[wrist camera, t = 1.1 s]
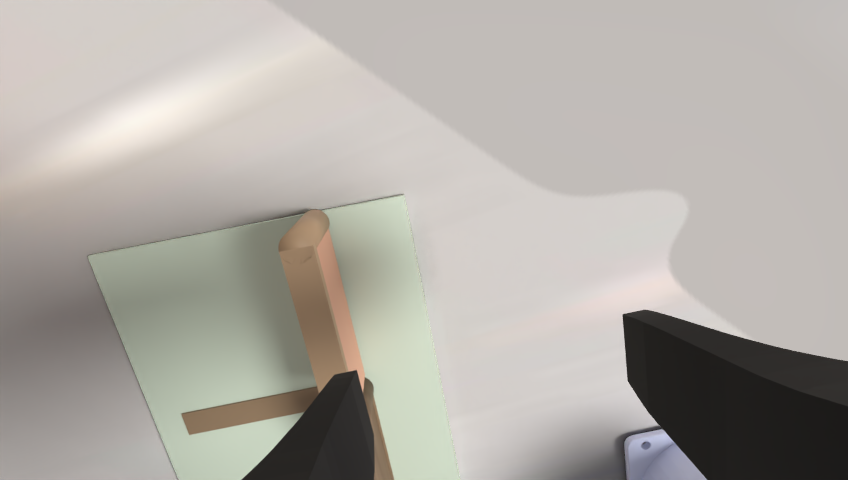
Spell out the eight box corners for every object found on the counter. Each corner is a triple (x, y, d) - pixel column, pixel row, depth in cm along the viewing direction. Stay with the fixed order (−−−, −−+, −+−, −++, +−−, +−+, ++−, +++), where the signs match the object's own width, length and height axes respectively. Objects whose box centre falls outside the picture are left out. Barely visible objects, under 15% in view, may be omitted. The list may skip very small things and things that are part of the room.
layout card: (404, 194, 20) (404, 195, 19) (466, 511, 25) (467, 517, 24) (91, 254, 20) (85, 257, 19) (216, 562, 24) (213, 569, 24)
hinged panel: (325, 206, 19) (308, 228, 15) (367, 374, 21) (361, 429, 17) (298, 212, 19) (274, 235, 15) (342, 378, 21) (331, 436, 17)
